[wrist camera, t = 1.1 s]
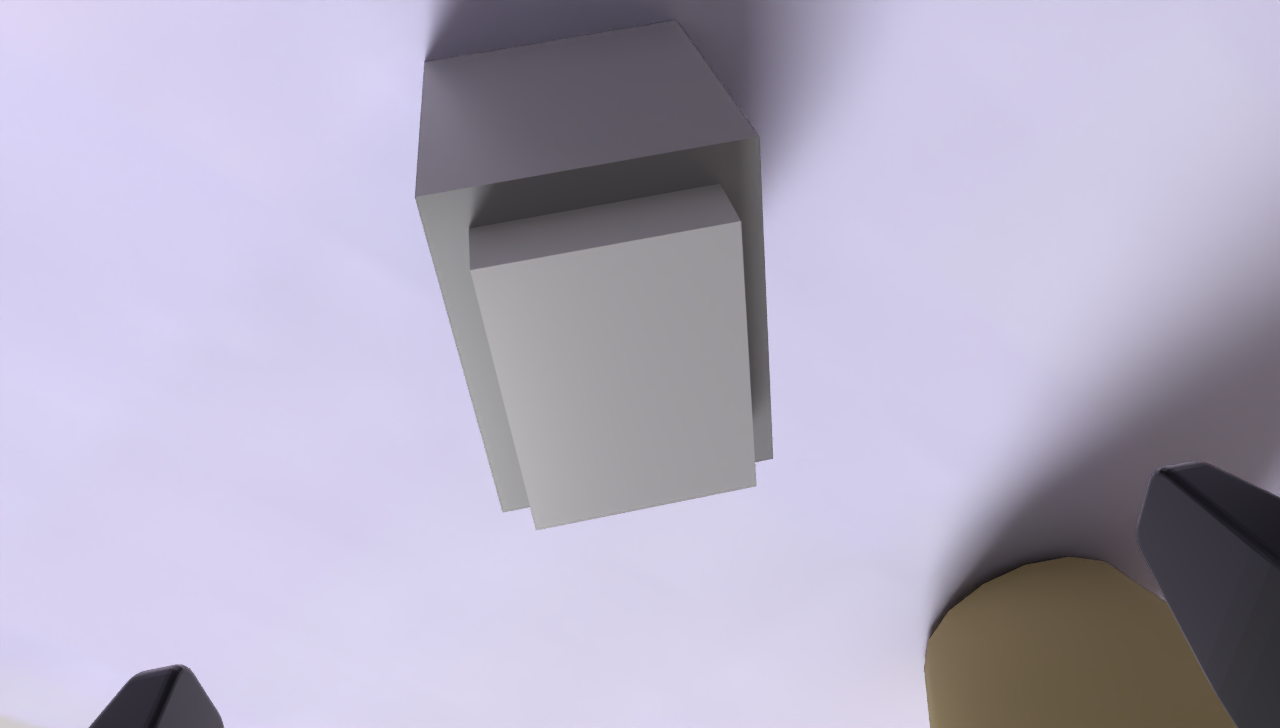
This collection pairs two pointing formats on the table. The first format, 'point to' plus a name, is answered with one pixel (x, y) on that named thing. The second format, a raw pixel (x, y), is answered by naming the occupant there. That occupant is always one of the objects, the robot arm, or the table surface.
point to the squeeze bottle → (1066, 655)
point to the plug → (600, 268)
